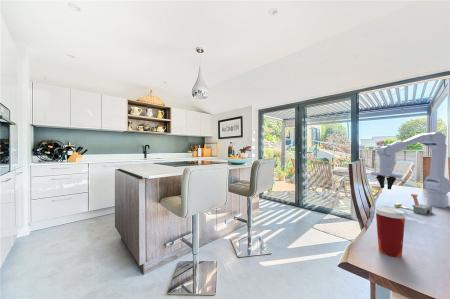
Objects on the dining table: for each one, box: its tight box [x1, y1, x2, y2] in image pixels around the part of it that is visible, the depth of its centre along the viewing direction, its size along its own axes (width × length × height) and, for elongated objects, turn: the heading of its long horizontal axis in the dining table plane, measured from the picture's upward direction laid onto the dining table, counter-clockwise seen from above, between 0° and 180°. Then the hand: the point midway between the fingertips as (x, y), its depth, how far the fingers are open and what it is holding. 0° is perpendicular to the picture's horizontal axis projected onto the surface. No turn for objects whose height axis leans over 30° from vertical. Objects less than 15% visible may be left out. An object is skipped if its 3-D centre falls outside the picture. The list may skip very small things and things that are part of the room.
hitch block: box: [413, 204, 433, 216], centre depth 93 cm, size 8×4×4 cm, turn 112°
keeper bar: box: [410, 193, 420, 205], centre depth 101 cm, size 10×2×1 cm
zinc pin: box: [394, 202, 414, 212], centre depth 100 cm, size 5×7×3 cm, turn 22°
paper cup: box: [374, 206, 407, 258], centre depth 59 cm, size 8×8×14 cm
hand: (385, 188), depth 108 cm, fingers open, 3 cm apart
